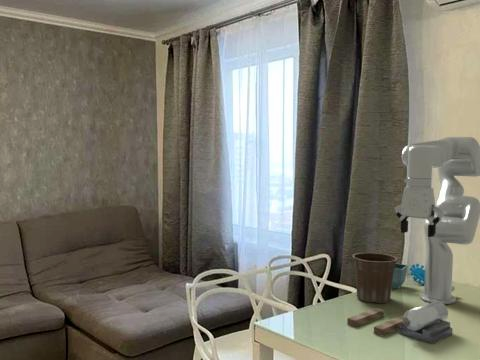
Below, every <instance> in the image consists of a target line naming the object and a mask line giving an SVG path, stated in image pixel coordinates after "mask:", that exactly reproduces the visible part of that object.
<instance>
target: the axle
mask: <svg viewBox="0 0 480 360" xmlns="http://www.w3.org/2000/svg"><path fill="white" fill-rule="evenodd" d="M448 315H449V309H448V307H447V306H446V304H443V303H441V302H433V303H430V302H429V303H428V304H425V305H422V306H417V307H414V308H411V309H409V310H406V311H405V312H404V314H403V315H402V316H403V321H404V324H405V325H406V327H407V328H408V329H410V330H413V331H416V330H419V329H422V328H424V327H427V326H430V325H432V324H435V323H438V322H440V321H442V320H443V321H446V319H447V318H448Z"/></svg>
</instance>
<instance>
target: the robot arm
mask: <svg viewBox="0 0 480 360" xmlns="http://www.w3.org/2000/svg"><path fill="white" fill-rule="evenodd" d="M401 161H402V164H403V165H404V166H406V167H407V177H406V178H404V181H403V182H404V183H405V184H406V186H404V190H403V192H402V199H401V203H400V204H399V205H397V206H394V208H393V209H394V211H395V214H396V216H397V217H398V220H399V221H400V232H401V234H405V233H408V232H409V220H407V219H409V218H415V219H421V220H422V219H423V220H424V219H425V220H424V223H423V230H424V231H423V232H424V239H425V261H424V262H425V264H424V270H425V285H424V287H423V288H424V292H421V293H420V294H419V299H421V300H422V301H425V302H428V303H429V304H430V303H433V302H441V303H443V304H444V305H451V304H454V303H456V300H457V299H456V297H455V296H454V295H452V292H454V291H455V290H456V287H455V286H454V285H453V267H454V265H453V264H454V254H453V251H452V249H451V248H450V246H449V245H448V244H455V245H470V244H472V243H473V241H474V239H475V236H476V232H477V228H478V224H479V220H480V201H479V199H478V198H476V197H474V196H470V195H469V196H468V195H464V193H465V189H464V186H463V185H462V183H461V182H460V181H459V180H458V179H457V178H456V177H473V178H474V177H480V144H479V142H478V140H477V139H476V138H474V137H472V136H448V137H444V138H440V139H437V140H431V141H430V140H428V141H424V142H417V143H410V144H408V145H406V146H405V147H404V148H403V149H402V152H401ZM433 168H434V169H435V168H437V172H438V173H437V174H438V177H439V183H440V190H439V193H438V195H437V198H436V199H437V200H435V193H434V188H433V187H432V180H433V179H432V177H433V173H432V172H433Z"/></svg>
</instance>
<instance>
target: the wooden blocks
mask: <svg viewBox="0 0 480 360" xmlns="http://www.w3.org/2000/svg"><path fill="white" fill-rule="evenodd" d="M384 314H385V310H383V309H380V308H378V307H375V308H372V309H369V310H367V311H364V312H361V313H358V314H355V315H352V316H350V317H347V320H346V321H347V322H346V323H347V325H348V326H351V327H354V328H355V327H359V326H361V325H364V324H366V323H370V322H372V321H374V320H377V319H379V318H382V317H384V316H385V315H384ZM403 316H404V315H400V316H398V317H395V318H393V319H390V320H387V321H386V322H383V323H380V324H378V325H375V326H373V334H375V335H378V336H382V337H383V336H385V335H388V334H390V333H393V332H396V331H397V330H398V331H399V327H400V326H401V323H402V322H404V321H403Z"/></svg>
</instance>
